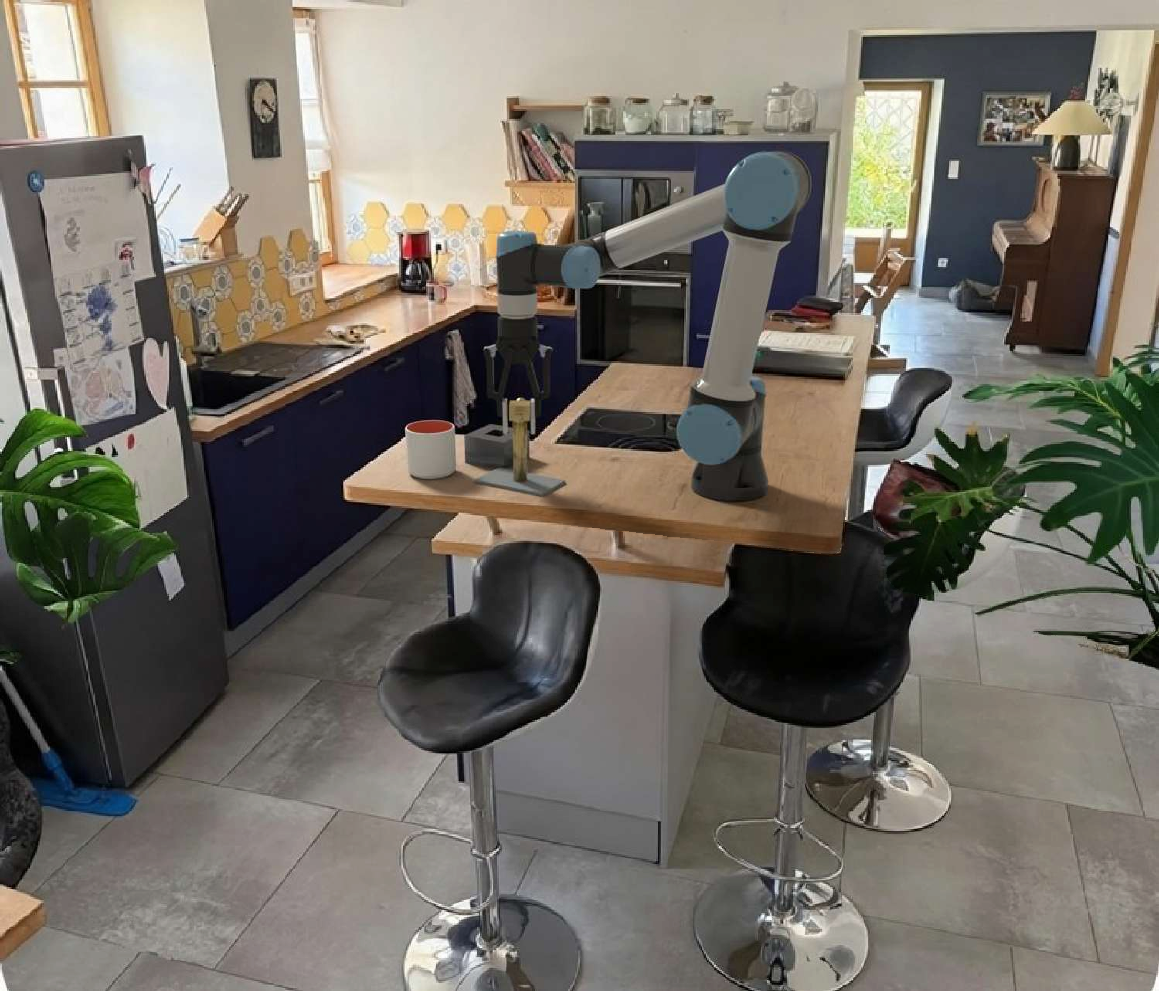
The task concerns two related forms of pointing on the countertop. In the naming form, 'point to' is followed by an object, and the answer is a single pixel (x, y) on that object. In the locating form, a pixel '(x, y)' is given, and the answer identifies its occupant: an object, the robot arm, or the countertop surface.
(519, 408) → the brass ball-end t-bar
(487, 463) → the block
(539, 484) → the mat
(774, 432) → the countertop surface
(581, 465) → the countertop surface
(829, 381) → the countertop surface
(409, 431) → the cup
